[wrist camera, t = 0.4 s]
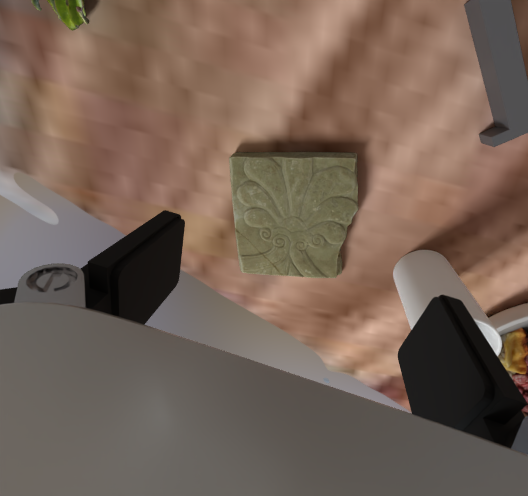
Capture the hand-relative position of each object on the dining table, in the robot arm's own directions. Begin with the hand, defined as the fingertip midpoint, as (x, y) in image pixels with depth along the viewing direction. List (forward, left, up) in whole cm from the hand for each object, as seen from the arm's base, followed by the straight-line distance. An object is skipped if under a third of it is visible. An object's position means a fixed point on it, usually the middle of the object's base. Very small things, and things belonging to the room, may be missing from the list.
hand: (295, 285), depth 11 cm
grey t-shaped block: (+1, +21, -35) cm, 41 cm away
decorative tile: (+8, -8, -36) cm, 37 cm away
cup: (+25, +6, -35) cm, 43 cm away
